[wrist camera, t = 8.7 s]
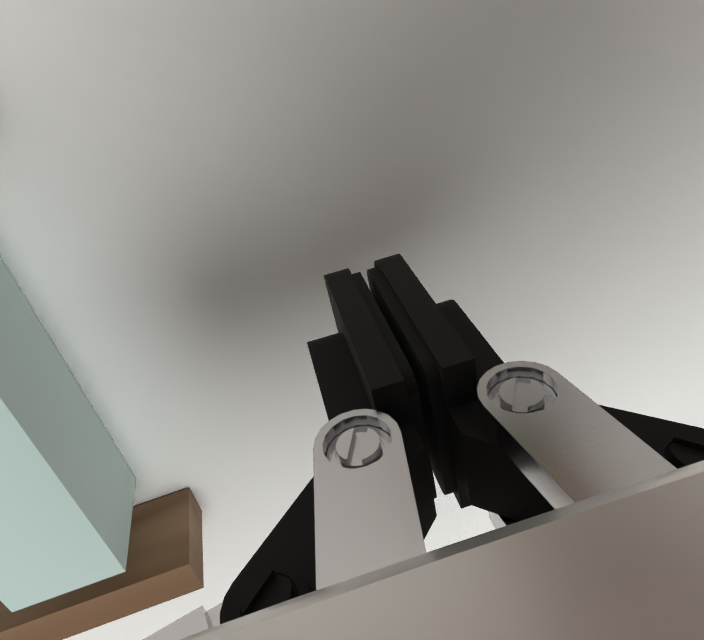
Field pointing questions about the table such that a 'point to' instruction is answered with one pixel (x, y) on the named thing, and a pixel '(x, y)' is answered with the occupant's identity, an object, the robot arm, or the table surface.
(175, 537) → the corral
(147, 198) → the table surface
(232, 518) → the table surface
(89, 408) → the tee block
